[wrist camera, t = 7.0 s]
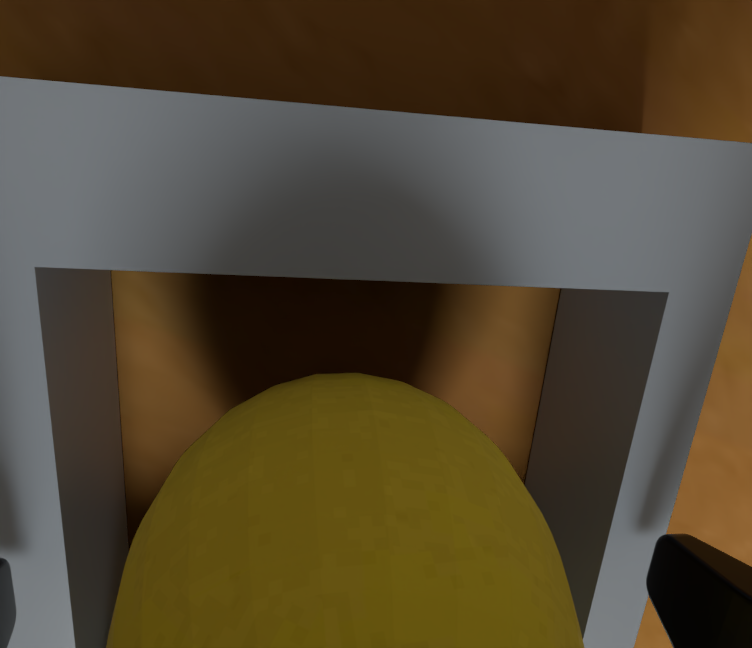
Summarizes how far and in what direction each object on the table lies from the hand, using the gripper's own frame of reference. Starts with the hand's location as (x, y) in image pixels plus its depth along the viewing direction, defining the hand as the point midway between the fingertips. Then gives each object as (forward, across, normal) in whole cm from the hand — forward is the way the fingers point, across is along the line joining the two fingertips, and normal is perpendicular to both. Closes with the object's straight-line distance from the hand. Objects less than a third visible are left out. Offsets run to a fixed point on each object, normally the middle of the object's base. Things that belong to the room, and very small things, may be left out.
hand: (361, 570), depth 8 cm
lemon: (+4, 0, 0) cm, 4 cm away
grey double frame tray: (+4, 0, +4) cm, 6 cm away
